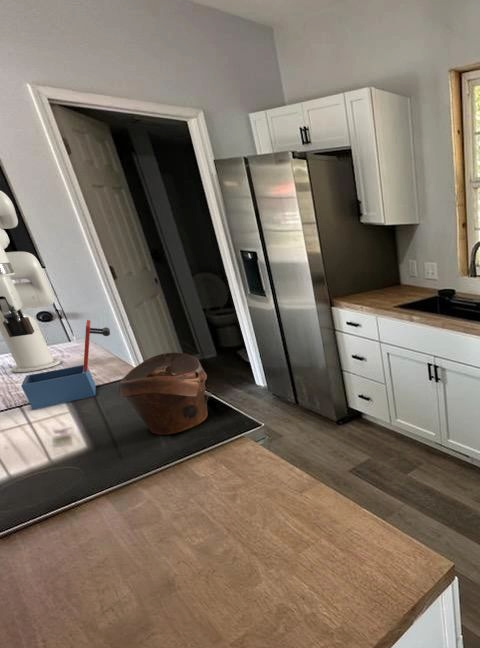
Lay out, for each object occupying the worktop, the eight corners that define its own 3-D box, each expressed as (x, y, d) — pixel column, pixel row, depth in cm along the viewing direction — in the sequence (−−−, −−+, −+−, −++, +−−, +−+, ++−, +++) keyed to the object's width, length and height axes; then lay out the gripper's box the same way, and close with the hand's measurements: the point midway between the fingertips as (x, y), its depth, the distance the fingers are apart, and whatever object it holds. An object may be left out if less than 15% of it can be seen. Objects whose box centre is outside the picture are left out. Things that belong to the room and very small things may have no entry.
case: (157, 449, 99) (131, 381, 93) (123, 430, 109) (97, 367, 102) (234, 418, 114) (216, 357, 107) (198, 403, 123) (179, 347, 117)
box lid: (85, 326, 125) (110, 328, 129) (87, 320, 133) (110, 322, 137) (83, 371, 127) (107, 372, 131) (84, 362, 135) (107, 363, 139)
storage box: (32, 409, 122) (21, 385, 119) (37, 398, 130) (26, 375, 127) (95, 395, 131) (85, 373, 128) (95, 385, 139) (86, 364, 136)
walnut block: (12, 334, 121) (5, 319, 119) (34, 331, 124) (28, 316, 122) (9, 337, 118) (2, 322, 116) (32, 334, 121) (26, 319, 119)
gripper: (-22, 270, 118) (7, 331, 124) (-36, 275, 106) (-3, 342, 113) (17, 267, 122) (43, 326, 129) (7, 271, 111) (37, 336, 117)
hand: (21, 333), depth 121 cm, fingers closed on walnut block, 4 cm apart
